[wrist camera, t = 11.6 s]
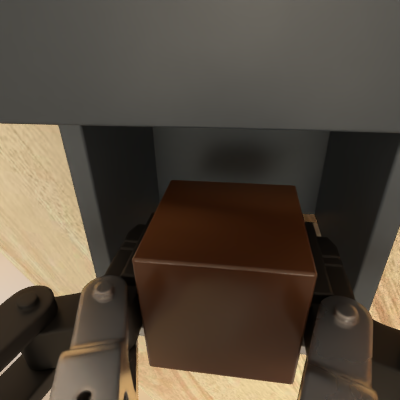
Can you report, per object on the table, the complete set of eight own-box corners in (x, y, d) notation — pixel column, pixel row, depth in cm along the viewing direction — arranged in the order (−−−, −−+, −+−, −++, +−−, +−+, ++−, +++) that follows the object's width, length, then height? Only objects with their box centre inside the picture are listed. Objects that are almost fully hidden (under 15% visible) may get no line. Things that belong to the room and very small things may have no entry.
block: (177, 270, 14) (148, 367, 10) (170, 178, 12) (130, 259, 8) (282, 279, 13) (293, 386, 10) (295, 184, 11) (318, 274, 7)
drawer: (316, 286, 23) (346, 416, 16) (153, 272, 25) (110, 383, 17) (382, -5, 14) (528, -26, 7) (119, 2, 16) (-1, -7, 8)
